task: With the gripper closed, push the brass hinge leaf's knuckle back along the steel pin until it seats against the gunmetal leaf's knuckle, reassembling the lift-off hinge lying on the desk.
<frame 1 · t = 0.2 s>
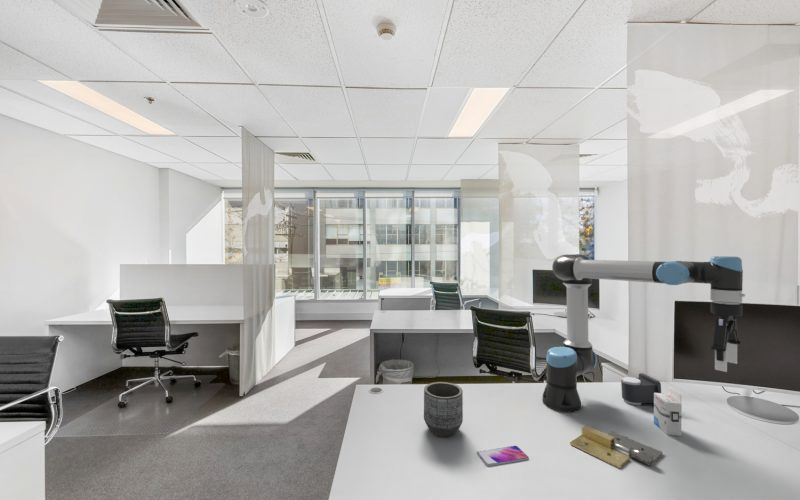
hand: (726, 366, 108), 28 cm above the table, fingers open, 13 cm apart
gunmetal leaf: (623, 453, 106), on the table
planter: (443, 430, 120), on the table
ink box: (667, 429, 121), on the table
light fixture: (638, 402, 143), on the table
brass leaf: (601, 445, 108), point 2 cm above the table, slide at 5.0 cm
smartphone: (502, 457, 104), on the table
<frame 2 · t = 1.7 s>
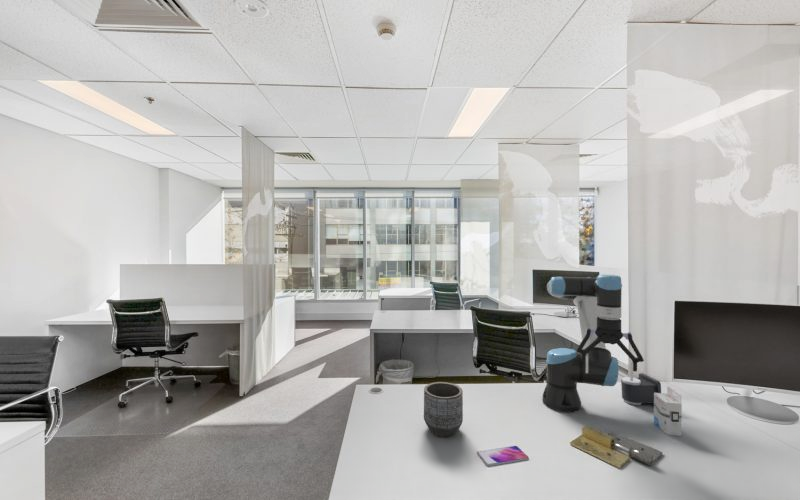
hand: (608, 375, 118), 21 cm above the table, fingers open, 13 cm apart
nothing on the table moved.
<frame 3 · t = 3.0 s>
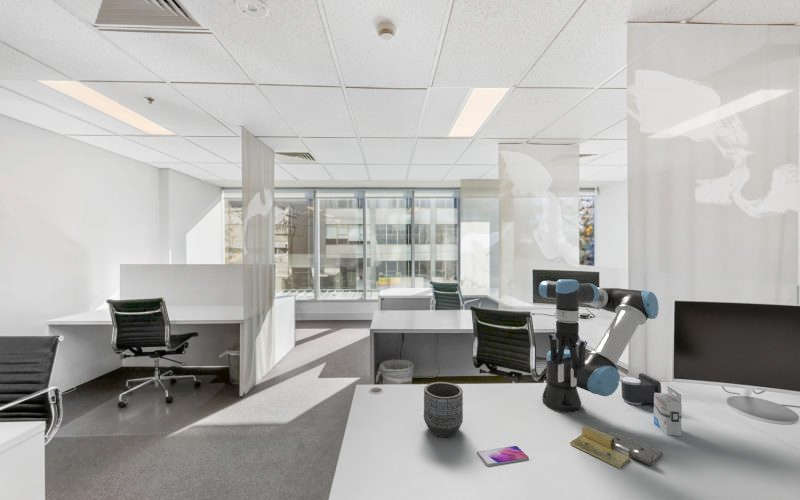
hand: (567, 383, 121), 17 cm above the table, fingers open, 4 cm apart
nothing on the table moved.
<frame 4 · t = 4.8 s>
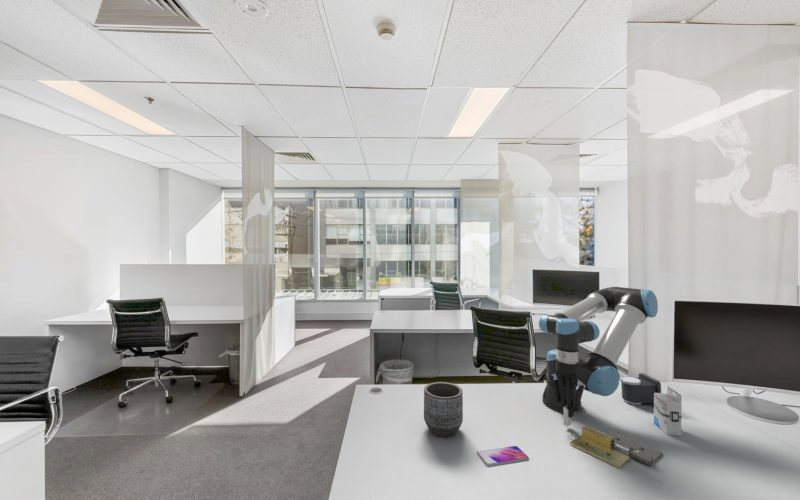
hand: (567, 424, 121), 1 cm above the table, fingers closed
nothing on the table moved.
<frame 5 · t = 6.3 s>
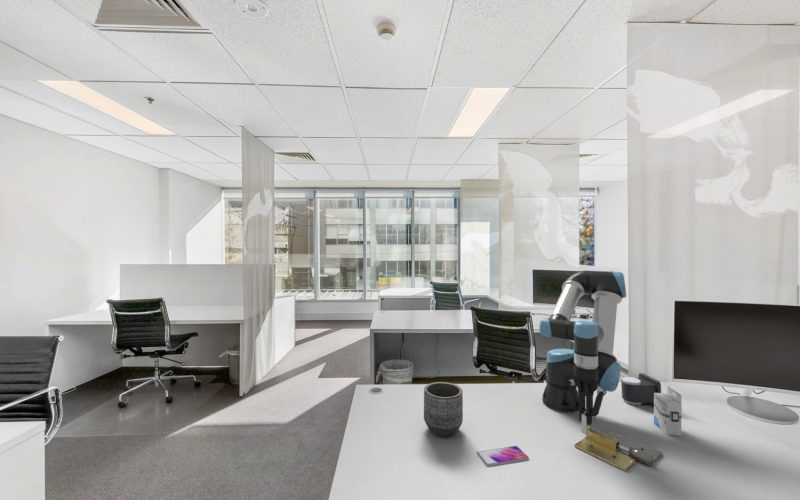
hand: (585, 432, 115), 2 cm above the table, fingers closed
brass leaf: (606, 447, 106), point 2 cm above the table, slide at 3.4 cm, touching gripper
everything else where it was.
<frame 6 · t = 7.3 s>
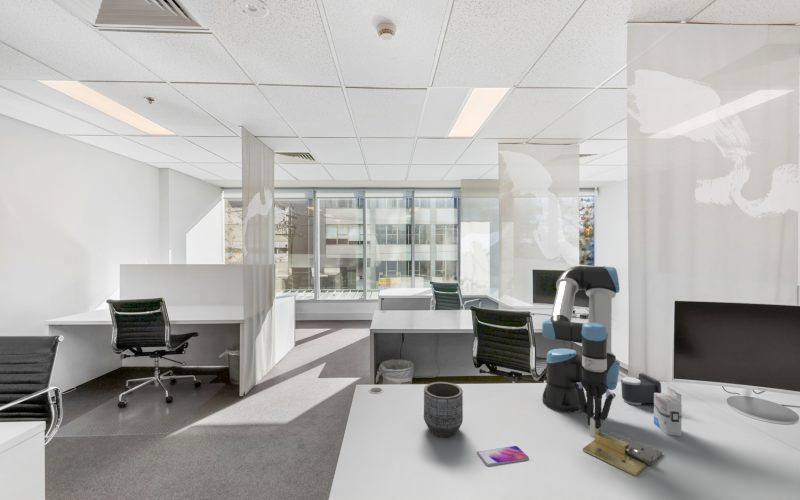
hand: (594, 436, 113), 1 cm above the table, fingers closed
brass leaf: (615, 451, 104), point 2 cm above the table, slide at 0.8 cm, touching gripper
everything else where it was.
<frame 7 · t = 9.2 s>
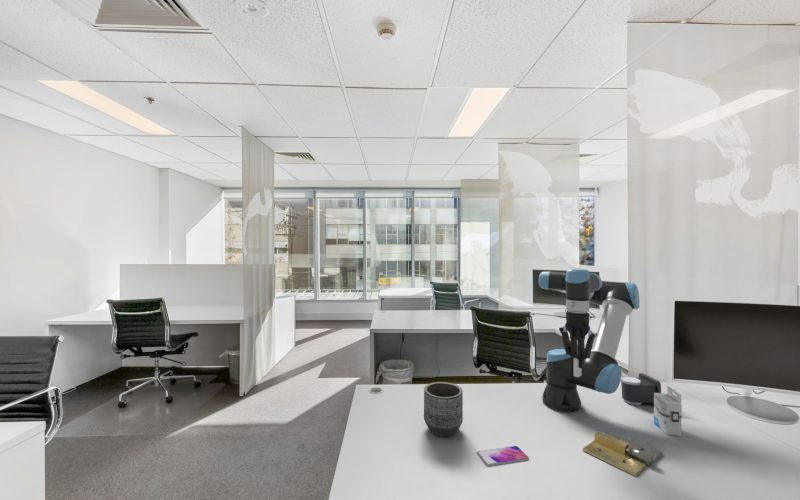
hand: (577, 375, 119), 21 cm above the table, fingers closed
brass leaf: (615, 451, 104), point 2 cm above the table, slide at 0.8 cm
everything else where it was.
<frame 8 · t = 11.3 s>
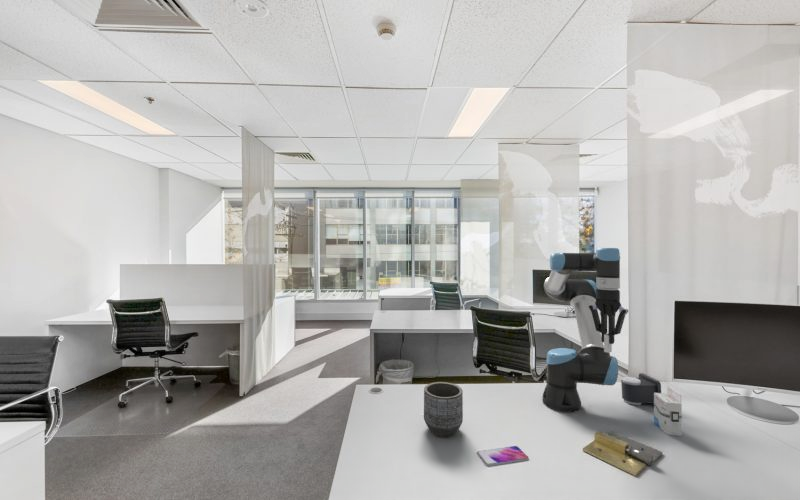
hand: (607, 351, 122), 28 cm above the table, fingers closed
nothing on the table moved.
at the end: brass leaf slide at 0.8 cm; brass leaf touching nothing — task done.
